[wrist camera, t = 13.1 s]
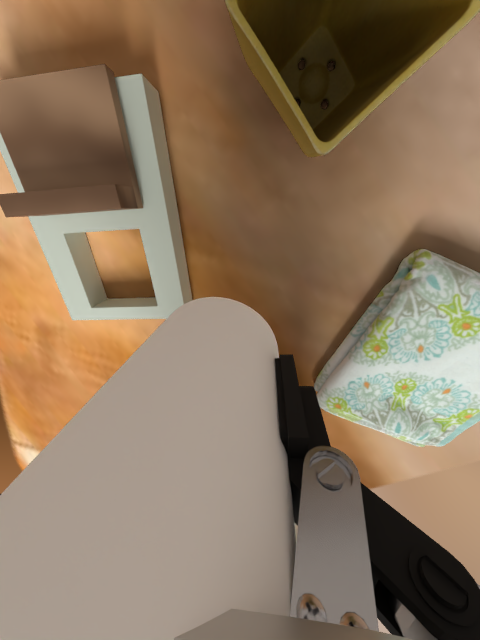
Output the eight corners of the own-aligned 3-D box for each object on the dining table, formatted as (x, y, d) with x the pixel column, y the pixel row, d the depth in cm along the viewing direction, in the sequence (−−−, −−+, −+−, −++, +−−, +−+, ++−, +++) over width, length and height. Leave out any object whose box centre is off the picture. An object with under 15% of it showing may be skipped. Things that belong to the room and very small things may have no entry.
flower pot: (393, 91, 18) (495, -2, 10) (300, 177, 21) (322, 159, 13) (332, -34, 16) (403, -284, 8) (238, 84, 19) (218, -8, 11)
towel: (304, 386, 33) (311, 416, 28) (409, 242, 23) (444, 251, 19) (414, 429, 34) (437, 463, 30) (553, 310, 25) (619, 334, 20)
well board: (193, 307, 28) (186, 318, 26) (89, 310, 30) (72, 320, 27) (158, 91, 20) (141, 73, 17) (14, 111, 21) (-23, 97, 18)
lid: (143, 208, 21) (121, 208, 17) (44, 215, 22) (6, 217, 19) (113, 71, 17) (76, 39, 14) (-6, 89, 18) (-66, 63, 15)
